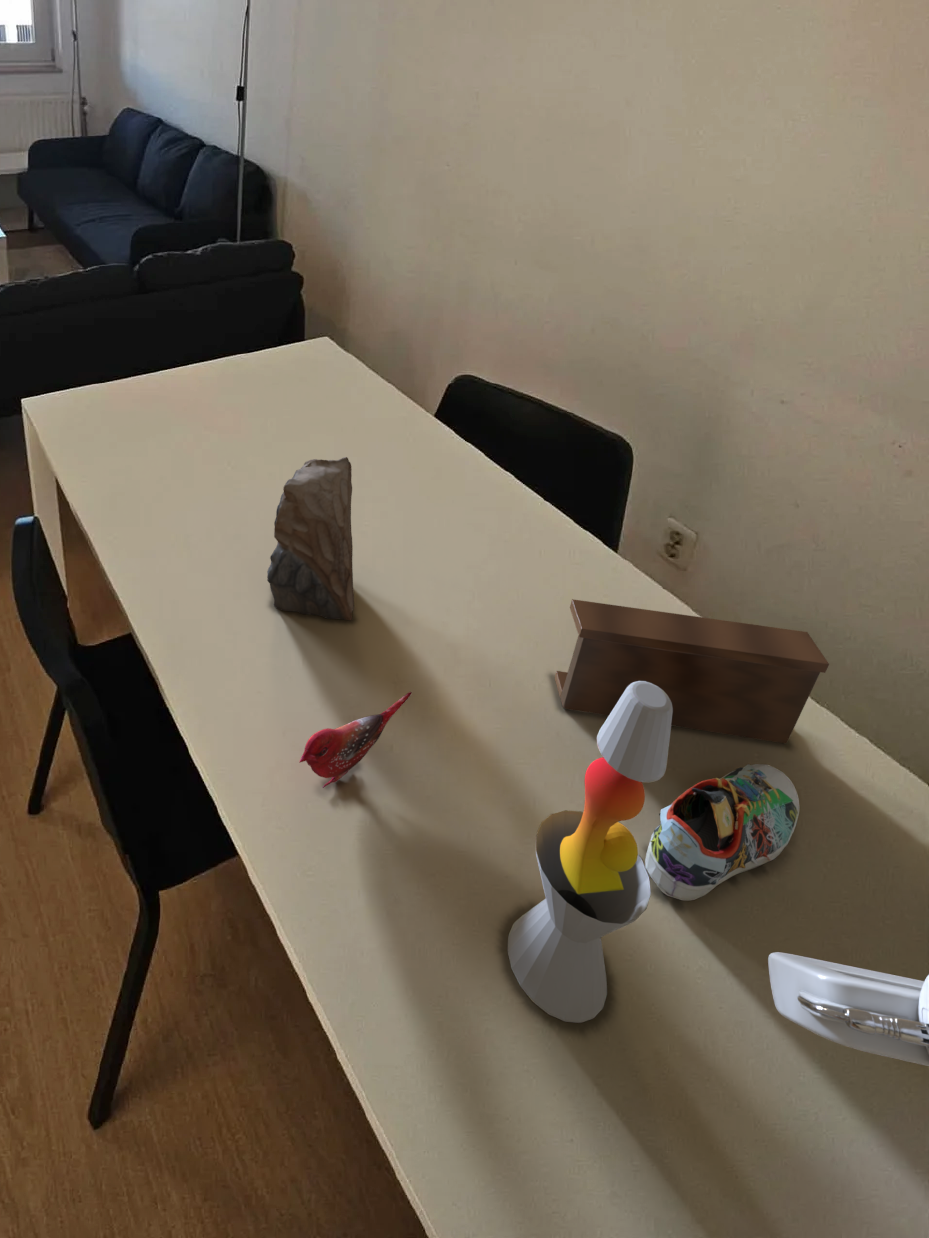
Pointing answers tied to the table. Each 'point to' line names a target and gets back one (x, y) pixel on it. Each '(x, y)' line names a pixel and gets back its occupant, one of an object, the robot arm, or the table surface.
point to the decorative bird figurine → (345, 744)
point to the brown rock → (314, 542)
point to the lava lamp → (592, 864)
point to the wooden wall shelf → (693, 668)
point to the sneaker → (722, 830)
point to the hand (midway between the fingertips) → (888, 994)
